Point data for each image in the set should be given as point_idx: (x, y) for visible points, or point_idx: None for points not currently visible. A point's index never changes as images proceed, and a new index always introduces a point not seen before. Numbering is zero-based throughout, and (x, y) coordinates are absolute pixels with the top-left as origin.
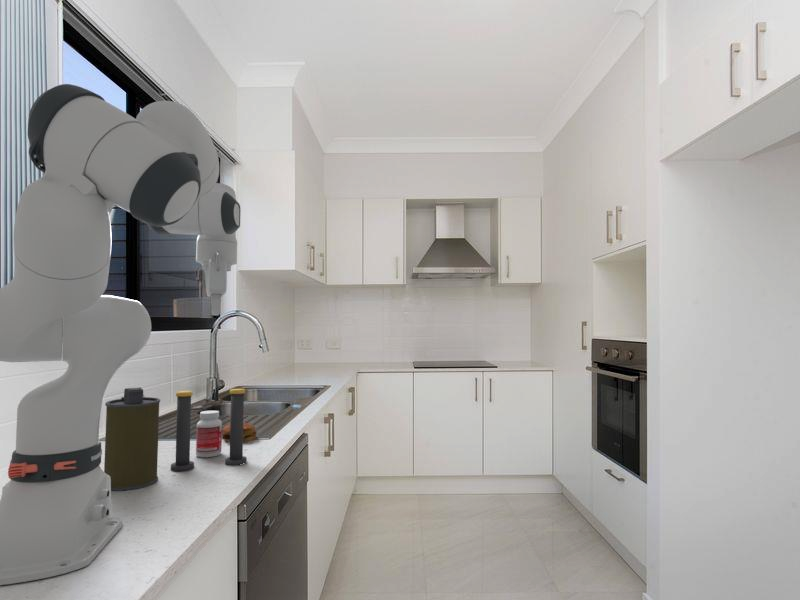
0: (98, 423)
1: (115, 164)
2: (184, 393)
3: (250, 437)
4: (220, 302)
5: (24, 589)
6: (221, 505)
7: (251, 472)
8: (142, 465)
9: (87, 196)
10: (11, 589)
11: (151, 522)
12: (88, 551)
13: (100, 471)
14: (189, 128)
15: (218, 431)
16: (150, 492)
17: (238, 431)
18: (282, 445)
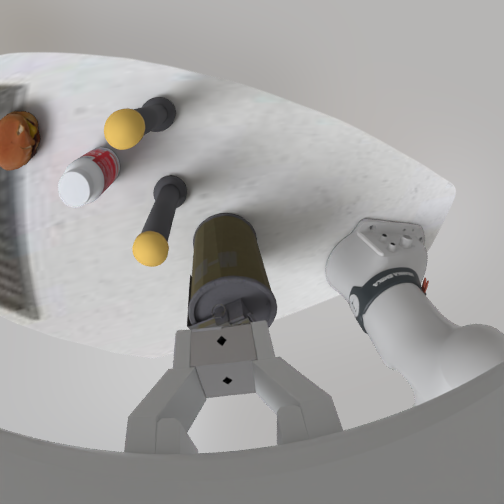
0: (414, 296)
1: None
2: (167, 247)
3: (26, 117)
4: (311, 383)
5: (426, 249)
6: (348, 129)
7: (221, 86)
8: (253, 238)
9: None
10: None
11: (365, 195)
12: (411, 230)
13: (389, 263)
14: None
15: (97, 159)
16: (272, 211)
17: (158, 114)
18: (68, 53)
